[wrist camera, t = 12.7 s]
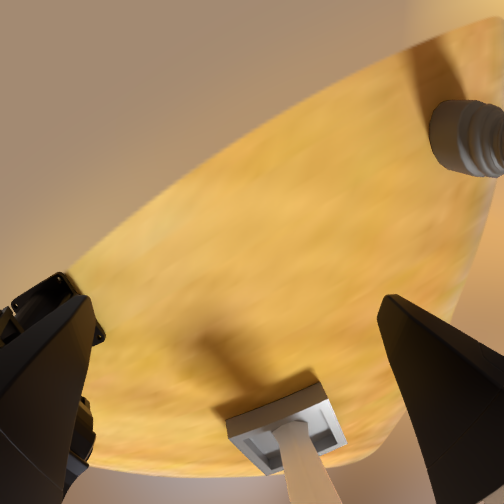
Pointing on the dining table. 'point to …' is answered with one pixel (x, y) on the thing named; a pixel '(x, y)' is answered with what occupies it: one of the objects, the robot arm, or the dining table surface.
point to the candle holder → (469, 137)
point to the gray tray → (280, 413)
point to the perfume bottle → (303, 467)
